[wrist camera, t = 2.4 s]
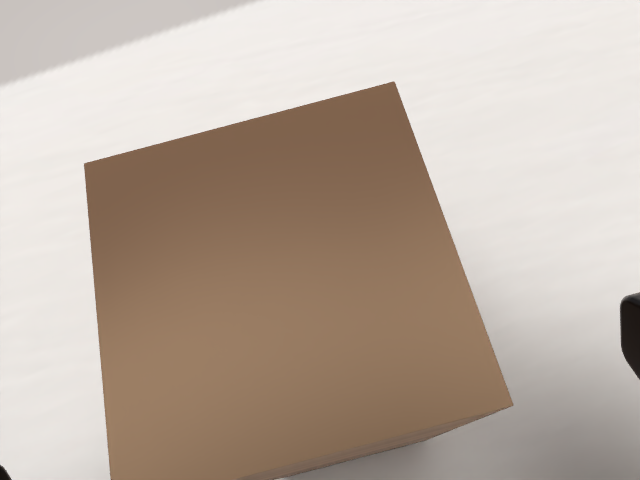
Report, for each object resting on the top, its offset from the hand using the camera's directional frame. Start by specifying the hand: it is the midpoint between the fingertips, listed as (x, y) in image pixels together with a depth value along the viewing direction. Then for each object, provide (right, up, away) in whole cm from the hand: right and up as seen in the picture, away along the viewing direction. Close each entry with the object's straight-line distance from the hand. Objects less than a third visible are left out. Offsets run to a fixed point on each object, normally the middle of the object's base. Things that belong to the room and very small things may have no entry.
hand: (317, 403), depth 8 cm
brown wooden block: (+1, -2, +9) cm, 9 cm away
